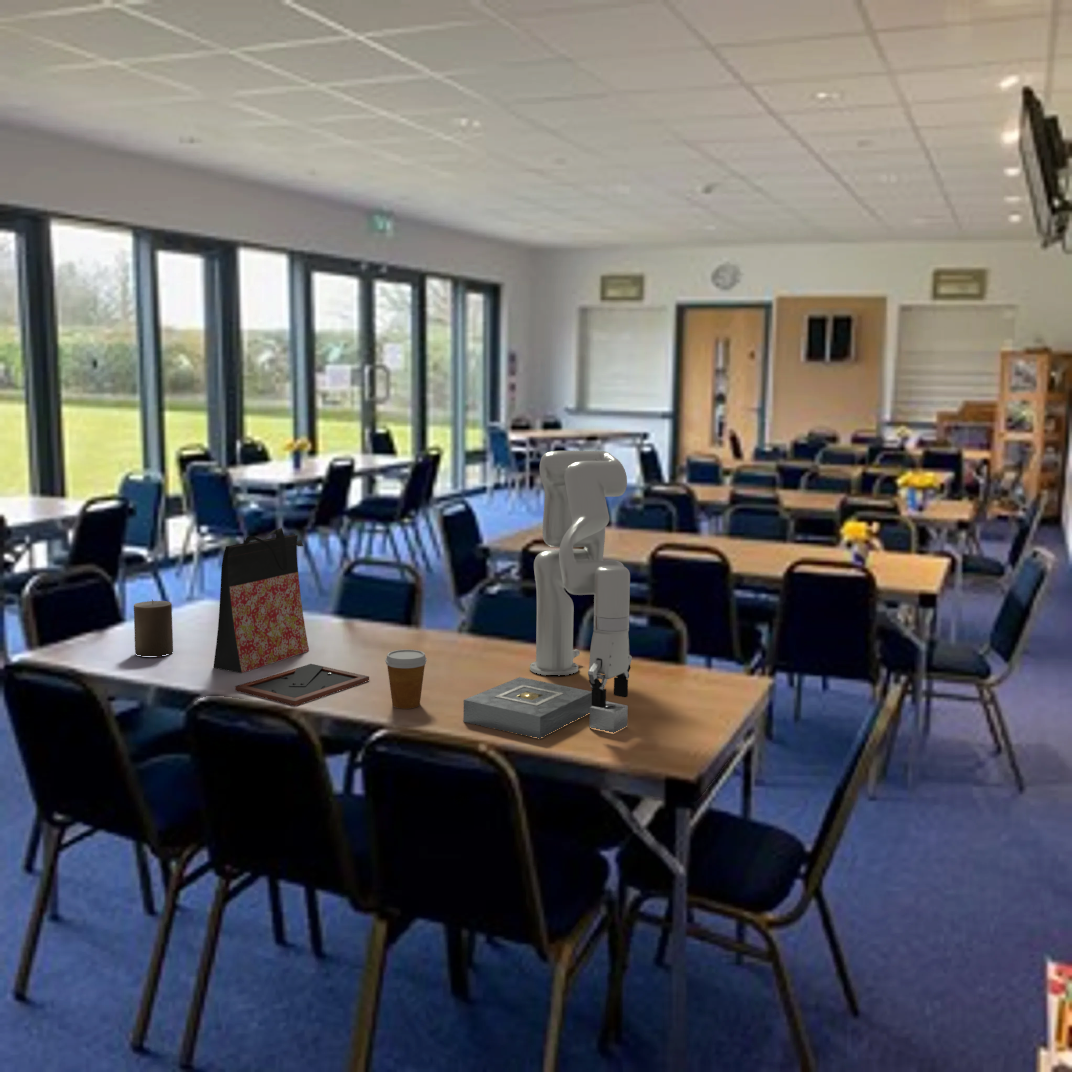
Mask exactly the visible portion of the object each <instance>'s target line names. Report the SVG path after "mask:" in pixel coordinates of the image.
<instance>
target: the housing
mask: <svg viewBox="0 0 1072 1072" xmlns="http://www.w3.org/2000/svg"><path fill="white" fill-rule="evenodd" d="M628 707H629V706H628V705H625V704H621V703H617V702H611V701H608V700H606V707H605V708H600V707H595V706H592V707H590V715H589V725H588V726H589V727H591V728H596V729H600V730H605V731H609V732H613V733H614V732H616V731H618V730H620V729H622V728H624V727H626V726H627V727H628V717H629V716H628V715H629V714H628V710H629V708H628ZM589 727H588V728H589Z"/></svg>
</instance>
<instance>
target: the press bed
mask: <svg viewBox="0 0 1072 1072" xmlns="http://www.w3.org/2000/svg"><path fill="white" fill-rule="evenodd" d="M526 692H532V693H537V694H538V698H536V699H534V700H530V699H525V698H520V694H522V693H526ZM591 703H592V690H587V689H586V690H585V689H581V688H575V687H573V686H572V687H571V686H566V685H561V684H557V683H552V682H551V683H550V682H546V681H541V680H536V679H532V678H526V677H521V676H519V677H516V678H515V679H511V680H509V681H507V682H505V683H501V684H500V685H497V686H494V687H491V688H489V689H487V690H483V691H482V692H479V693H477V694H475V695H472V696H469V697H467V698H464V699H463V716H462V717H463V720H462V721H463V723H467V724H471V725H475V724H476V726H479V725H481V726H480V727H485V728H488V727H489V729H492V728H495V729H494V730H496V729H499V730H498V731H501V730H504V731H503V732H505V731H509V732H513V733H517V734H516V735H518V734H522V735H527V736H532V737H537V738H539V739H540V738H541V737H544V736H545V735H547V734H549V733H551V732H553V731H555V730H557V729H559V728H561V727H563V726H564V725H566V724H569V723H570V722H572V721H575V720H577V719H578V718H581V717H583V716H585V715H586V714H588V713H590V707H592V704H591ZM509 732H508V733H509ZM513 733H512V734H513ZM522 735H521V736H522ZM544 738H545V737H544ZM539 739H538V740H539ZM540 740H541V739H540Z"/></svg>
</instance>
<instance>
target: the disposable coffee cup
mask: <svg viewBox="0 0 1072 1072" xmlns="http://www.w3.org/2000/svg"><path fill="white" fill-rule="evenodd" d="M384 661H385V664H386V666H387V672H388V673H387V674H388V682H389V688H390V689H389V690H390V695H391V705H392V707H394V708H396V709H402V710H409V709H415V708H418V707H420V705H421V699H422V697H421V696H422V688H423V681H424V673H425V667H426V663H427V661H428V659H427V657H426V653H425V652H424V651H422V650H418V649H417V650H416V649H397V650H392V651H390V652H388V653H387V654H386V658H385V659H384Z"/></svg>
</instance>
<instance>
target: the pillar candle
mask: <svg viewBox="0 0 1072 1072" xmlns="http://www.w3.org/2000/svg"><path fill="white" fill-rule="evenodd" d="M172 607H173V606H172V602H171V601H166V600H153V599H151V600H150V601H149V600H147V601H142V602H136V603H134V604H133V622H134V623H133V624H134V653H136V654H137V655H141V656H162V655H166V654H170V655H172V654H173V653H174V639H173V636H174V632H173V609H172ZM172 652H173V653H172ZM171 653H172V654H171ZM136 654H135V655H136Z"/></svg>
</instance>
